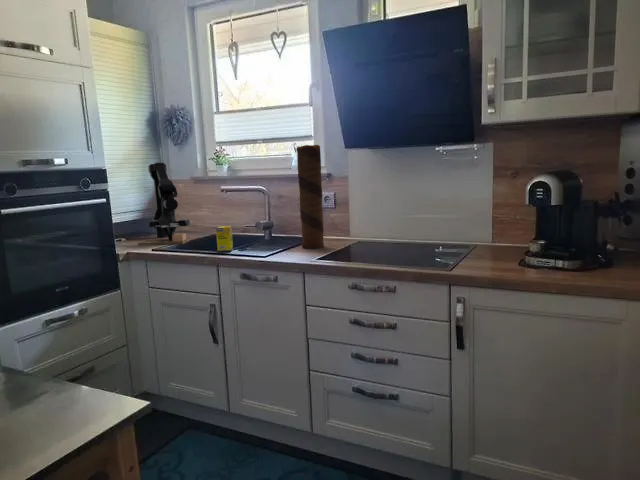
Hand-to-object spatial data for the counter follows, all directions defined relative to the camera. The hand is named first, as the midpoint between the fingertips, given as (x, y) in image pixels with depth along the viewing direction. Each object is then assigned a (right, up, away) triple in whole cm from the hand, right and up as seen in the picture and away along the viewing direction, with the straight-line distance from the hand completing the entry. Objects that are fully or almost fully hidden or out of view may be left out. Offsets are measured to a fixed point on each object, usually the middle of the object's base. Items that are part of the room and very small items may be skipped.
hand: (170, 240), depth 255 cm
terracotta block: (+4, -1, 0) cm, 4 cm away
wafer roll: (+71, -3, -23) cm, 74 cm away
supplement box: (+31, -5, -24) cm, 40 cm away
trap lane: (-3, -2, 0) cm, 4 cm away
